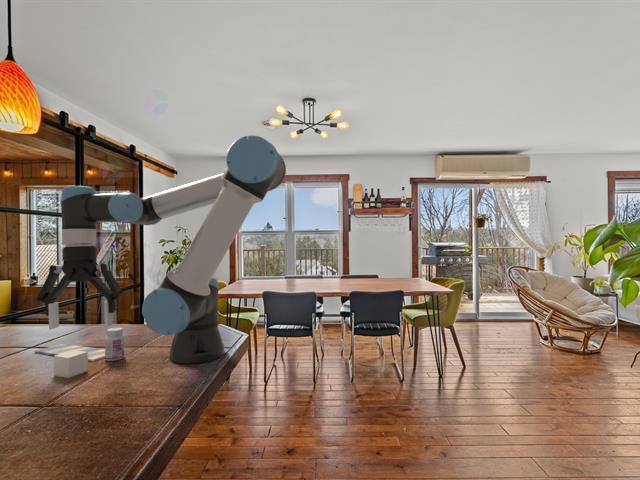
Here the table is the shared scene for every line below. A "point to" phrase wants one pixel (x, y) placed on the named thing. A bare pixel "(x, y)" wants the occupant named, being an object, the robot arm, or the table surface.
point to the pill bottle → (114, 344)
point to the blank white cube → (70, 363)
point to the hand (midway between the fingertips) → (81, 326)
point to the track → (93, 353)
